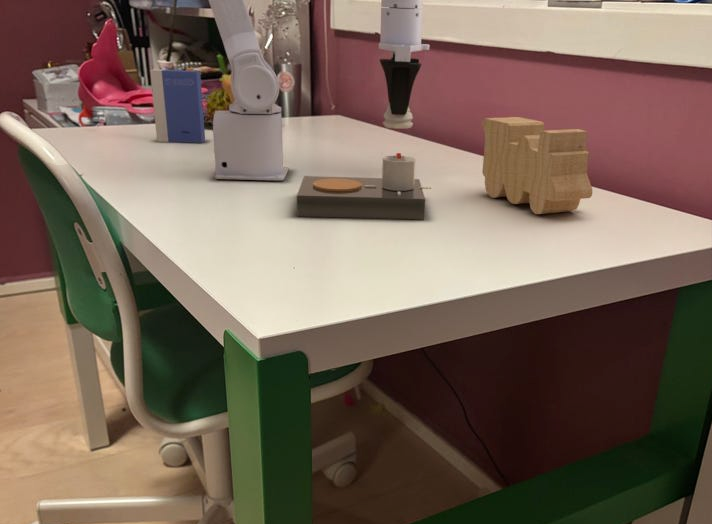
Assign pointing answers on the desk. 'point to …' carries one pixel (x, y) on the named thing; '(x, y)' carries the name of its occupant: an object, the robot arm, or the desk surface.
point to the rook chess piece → (397, 119)
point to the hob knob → (398, 172)
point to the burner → (337, 185)
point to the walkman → (178, 105)
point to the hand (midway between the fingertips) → (398, 112)
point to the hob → (360, 200)
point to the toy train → (535, 164)
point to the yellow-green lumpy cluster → (217, 102)
